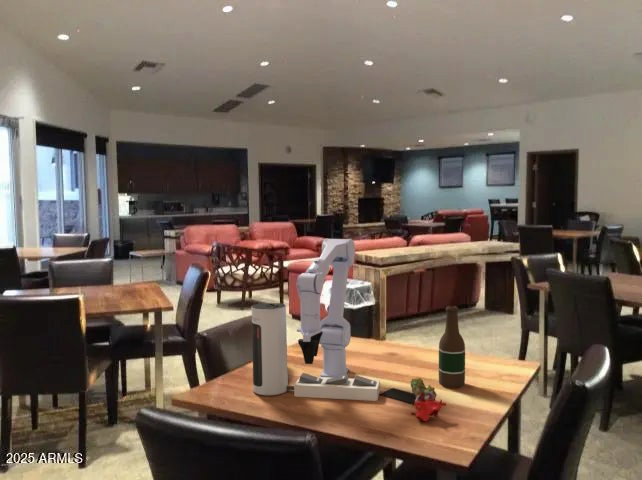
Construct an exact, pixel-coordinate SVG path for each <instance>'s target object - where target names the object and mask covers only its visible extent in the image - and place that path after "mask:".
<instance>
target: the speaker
mask: <svg viewBox="0 0 642 480" xmlns="http://www.w3.org/2000/svg"><path fill="white" fill-rule="evenodd" d="M287 335H288V334H287V305H286V304H285V303H281V302H265V303H257V304H252V305H251V341H252V343H251V344H252V345H251V346H252V351H251V352H252V382H253V384H252V387H253V393H255V394H256V395H259V396H267V397H268V396H269V397H272V396H279V395H283V394H285V393H286V392H287V391H288V390H287V386H289V385H288V383H289V381H288V380H289V379H288V339H287Z"/></svg>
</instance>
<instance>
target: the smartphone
mask: <svg viewBox="0 0 642 480" xmlns="http://www.w3.org/2000/svg"><path fill="white" fill-rule="evenodd" d="M379 397H383V398H387V399H390V400H395V401H398V402H401V403H402V402H403V403H405V404H409V405H412V406H415V405H414V404H415V400H416V396H415V395H414V394H413V392H412V391H410V392H409V391H406V390H403V389H399V388H394V387H392V388H389V389H387V390H385V391H383V392H381V393H379Z"/></svg>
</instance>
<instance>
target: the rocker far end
mask: <svg viewBox="0 0 642 480" xmlns="http://www.w3.org/2000/svg"><path fill="white" fill-rule="evenodd" d="M353 379H354V383H353V384H357V385H360V386H371V387H374V386H375V383H376V381H373V380H374V379H372V380H370V378H367V377H363V376H359V375H355V377H354V378H353Z"/></svg>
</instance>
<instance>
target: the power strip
mask: <svg viewBox="0 0 642 480" xmlns="http://www.w3.org/2000/svg"><path fill="white" fill-rule="evenodd" d="M317 377H318V378H321V379H322V381H321V384H311V383H305V382H301V381H299V379H300V377H299V378H297V380H296V382H295V383H294V385H288V386H287V391H294V393H293V394H294V397H299V398H301V397H302V398H314V399H315V398H319V399H332V400H333V399H335V400H337V399H338V400H351V401H352V400H354V401H357V400H358V401H370V402H371V401H374V402H377V401H378V399H379V397H380V395H379V394H380V392H381V386H380V385H381V382H380V381H381V379H372V378H371V379H370V378H369V379H370V380H373V381H376V383H375V386H374V387H371V386H360V385H357V384H353V383H354V379H355V378H351V377H350V378H349V377H348V379H349V380H348V382H347V383H345V384H341V385H331V384H326V382H327V380H328V379H330V378H331V377H322V376H317Z"/></svg>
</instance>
